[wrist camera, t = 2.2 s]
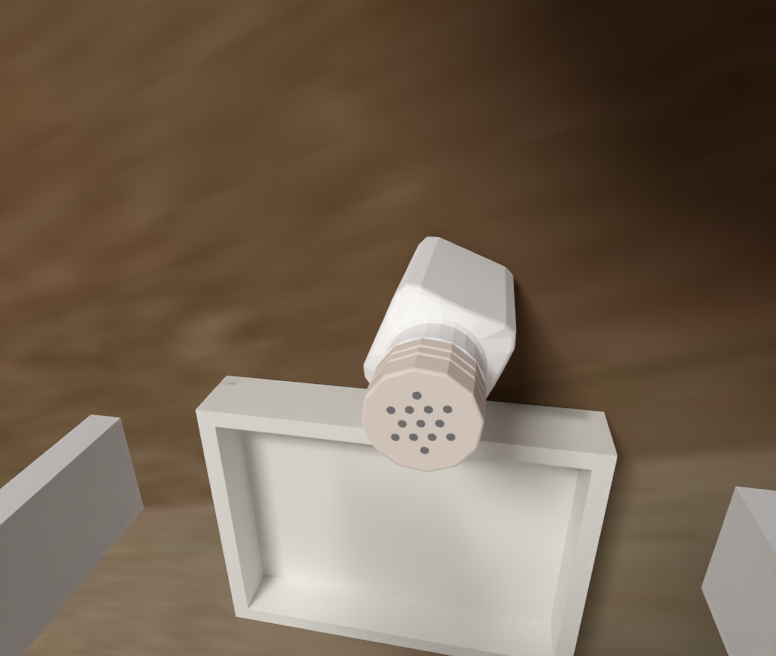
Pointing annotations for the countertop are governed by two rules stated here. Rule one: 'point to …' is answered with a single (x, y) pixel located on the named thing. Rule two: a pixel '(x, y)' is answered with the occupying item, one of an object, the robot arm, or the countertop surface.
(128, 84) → the countertop surface
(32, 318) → the countertop surface
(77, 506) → the robot arm
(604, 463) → the bin
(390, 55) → the countertop surface
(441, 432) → the salt shaker
